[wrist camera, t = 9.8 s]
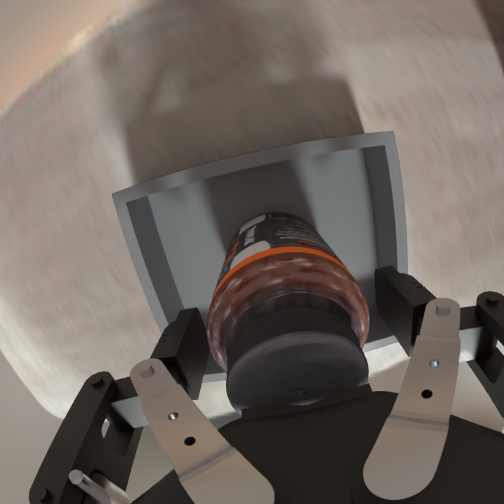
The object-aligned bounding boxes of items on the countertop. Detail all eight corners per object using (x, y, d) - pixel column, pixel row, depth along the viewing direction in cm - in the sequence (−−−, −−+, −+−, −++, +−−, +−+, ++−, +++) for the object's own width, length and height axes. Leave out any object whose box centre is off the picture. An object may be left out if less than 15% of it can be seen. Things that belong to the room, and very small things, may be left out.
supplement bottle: (222, 213, 17) (163, 300, 6) (321, 206, 16) (422, 277, 6) (233, 303, 18) (210, 449, 8) (322, 295, 18) (381, 431, 7)
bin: (365, 135, 16) (393, 130, 12) (383, 310, 20) (404, 339, 16) (140, 185, 17) (111, 193, 13) (195, 349, 21) (186, 383, 17)
